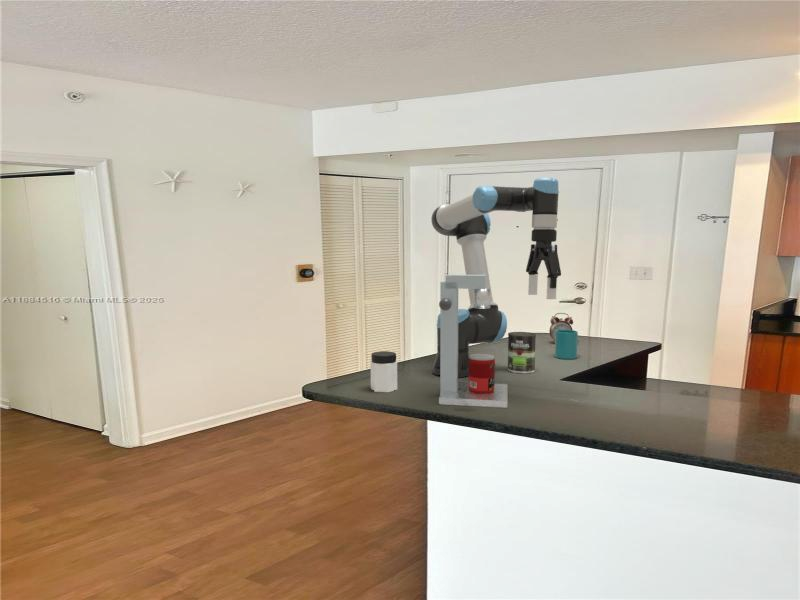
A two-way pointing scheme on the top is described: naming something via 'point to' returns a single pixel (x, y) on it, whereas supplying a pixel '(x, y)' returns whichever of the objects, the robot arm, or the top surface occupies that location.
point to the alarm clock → (559, 324)
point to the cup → (566, 344)
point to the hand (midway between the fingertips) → (541, 296)
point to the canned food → (481, 373)
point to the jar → (383, 371)
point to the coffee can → (521, 352)
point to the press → (449, 384)
